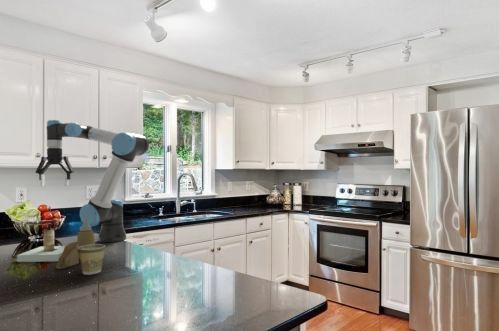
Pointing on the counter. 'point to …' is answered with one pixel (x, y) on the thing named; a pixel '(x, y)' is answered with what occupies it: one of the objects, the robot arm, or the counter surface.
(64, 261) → the rock
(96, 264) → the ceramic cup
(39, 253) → the socket board
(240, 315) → the counter surface
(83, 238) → the squeeze bottle
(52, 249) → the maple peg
